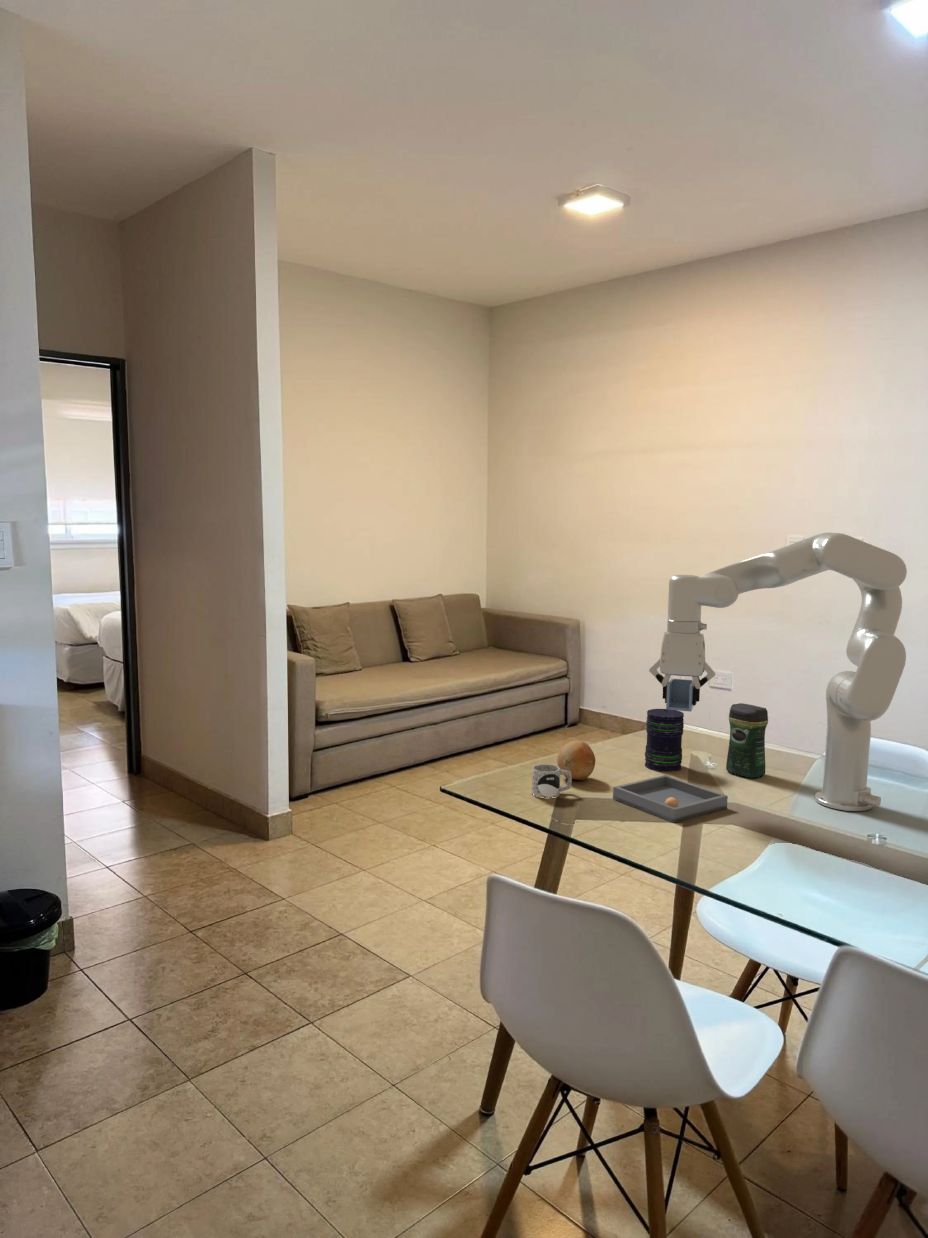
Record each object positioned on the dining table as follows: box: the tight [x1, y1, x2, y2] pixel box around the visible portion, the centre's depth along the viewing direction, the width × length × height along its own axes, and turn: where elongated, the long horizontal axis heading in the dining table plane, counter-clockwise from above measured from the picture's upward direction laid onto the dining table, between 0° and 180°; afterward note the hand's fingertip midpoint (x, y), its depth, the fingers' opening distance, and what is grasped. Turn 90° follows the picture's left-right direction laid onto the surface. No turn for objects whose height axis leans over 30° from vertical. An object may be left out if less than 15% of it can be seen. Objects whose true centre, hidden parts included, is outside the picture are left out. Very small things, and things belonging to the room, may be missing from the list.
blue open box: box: [665, 677, 695, 713], centre depth 206 cm, size 8×6×6 cm
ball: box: [665, 797, 679, 808], centre depth 197 cm, size 3×3×3 cm
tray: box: [612, 774, 729, 824], centre depth 205 cm, size 19×18×3 cm
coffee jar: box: [725, 702, 769, 778], centre depth 229 cm, size 10×8×19 cm
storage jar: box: [644, 708, 685, 773], centre depth 234 cm, size 10×10×15 cm
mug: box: [531, 763, 573, 798], centre depth 210 cm, size 10×7×7 cm
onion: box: [556, 739, 596, 781], centre depth 222 cm, size 10×10×10 cm
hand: (680, 702), depth 206 cm, fingers closed on blue open box, 5 cm apart
